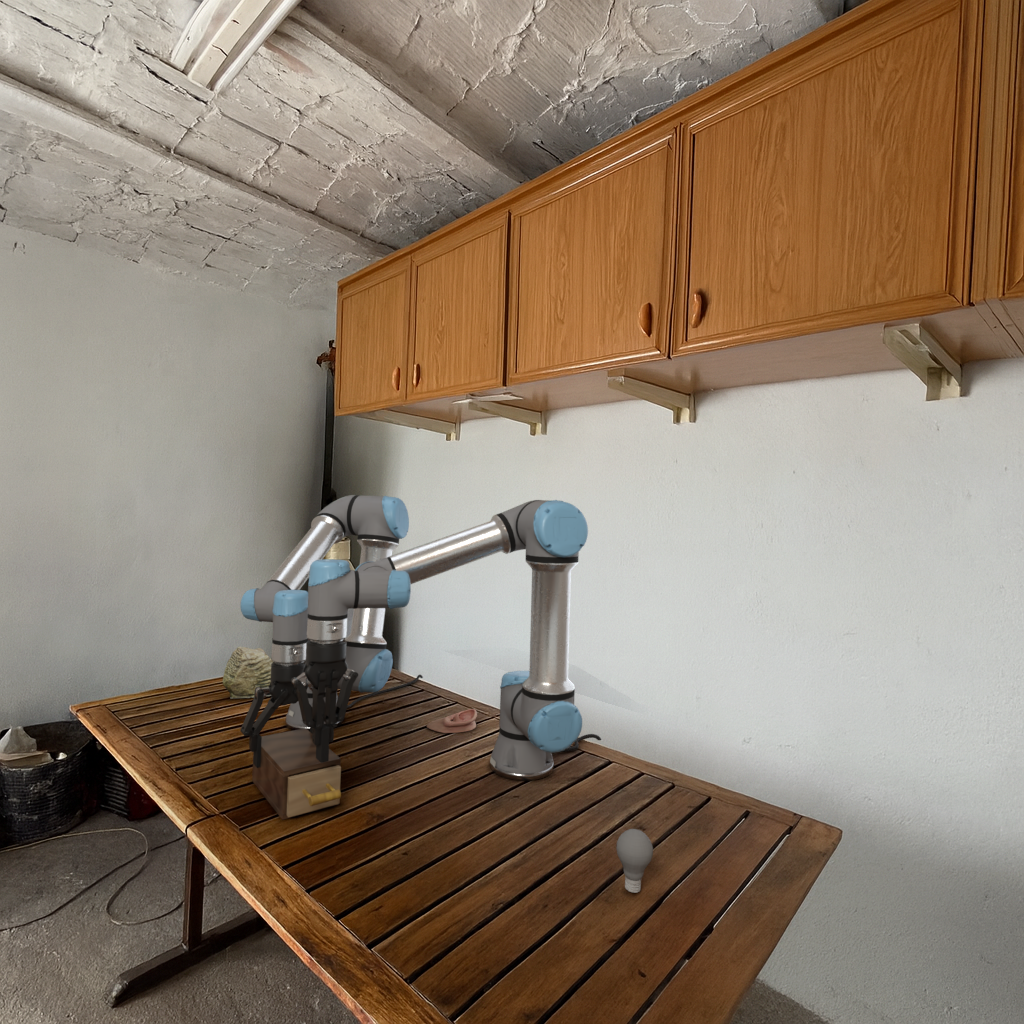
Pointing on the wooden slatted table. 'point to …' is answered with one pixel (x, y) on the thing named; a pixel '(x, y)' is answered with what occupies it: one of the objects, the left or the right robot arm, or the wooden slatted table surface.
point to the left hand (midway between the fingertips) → (285, 759)
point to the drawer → (313, 790)
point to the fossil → (247, 672)
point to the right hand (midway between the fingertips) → (322, 759)
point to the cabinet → (286, 765)
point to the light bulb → (634, 857)
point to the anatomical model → (455, 722)
